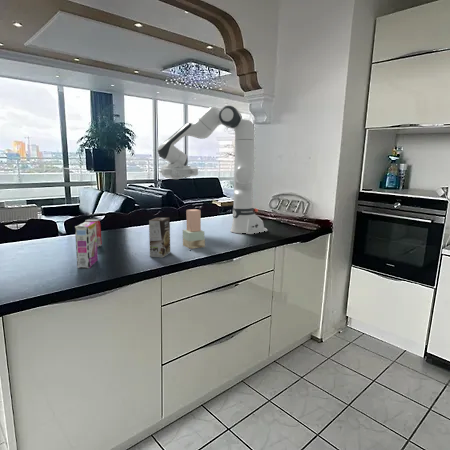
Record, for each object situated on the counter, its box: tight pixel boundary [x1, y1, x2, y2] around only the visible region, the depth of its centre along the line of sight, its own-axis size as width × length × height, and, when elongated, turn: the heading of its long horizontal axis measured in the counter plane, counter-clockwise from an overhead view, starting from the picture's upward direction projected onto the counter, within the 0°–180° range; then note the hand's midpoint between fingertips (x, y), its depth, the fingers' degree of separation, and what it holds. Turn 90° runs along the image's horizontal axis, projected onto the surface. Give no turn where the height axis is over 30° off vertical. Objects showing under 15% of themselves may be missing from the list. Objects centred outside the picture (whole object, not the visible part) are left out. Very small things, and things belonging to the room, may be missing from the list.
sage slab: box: [182, 229, 205, 241], centre depth 163 cm, size 8×8×4 cm
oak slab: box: [182, 237, 206, 250], centre depth 164 cm, size 8×8×4 cm
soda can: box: [84, 218, 103, 248], centre depth 160 cm, size 7×7×13 cm
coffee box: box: [148, 217, 171, 259], centre depth 147 cm, size 9×6×16 cm
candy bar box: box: [74, 221, 99, 269], centre depth 132 cm, size 11×5×16 cm, turn 5°
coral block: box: [185, 208, 202, 232], centre depth 162 cm, size 5×5×10 cm
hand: (185, 172), depth 180 cm, fingers open, 8 cm apart
